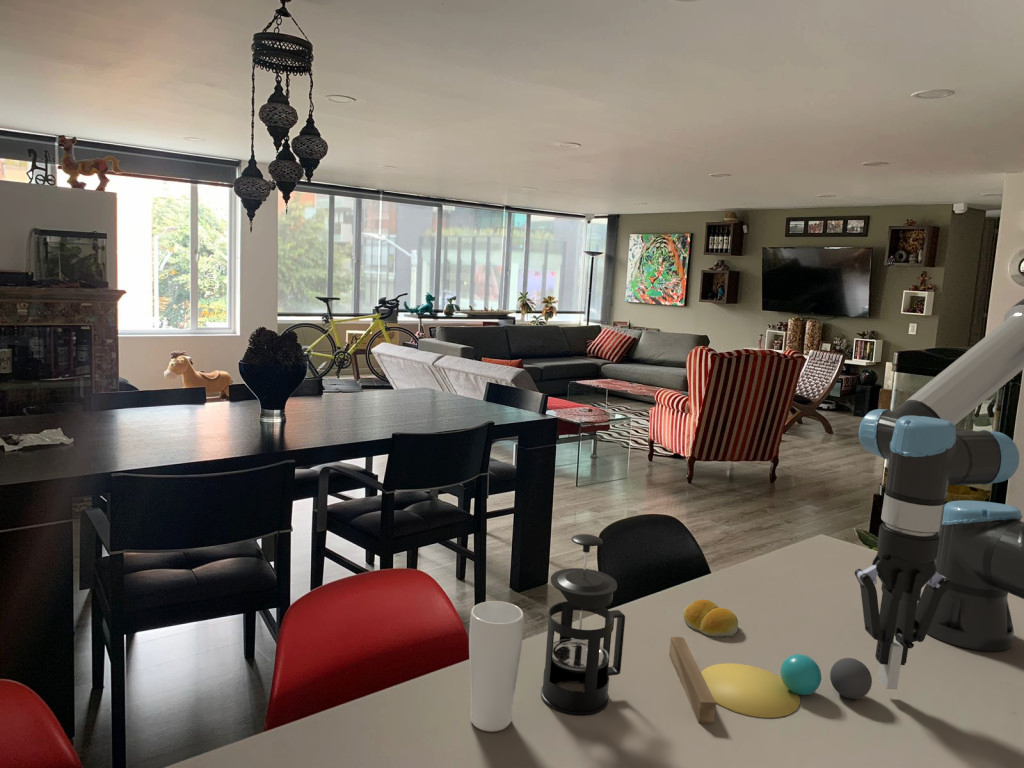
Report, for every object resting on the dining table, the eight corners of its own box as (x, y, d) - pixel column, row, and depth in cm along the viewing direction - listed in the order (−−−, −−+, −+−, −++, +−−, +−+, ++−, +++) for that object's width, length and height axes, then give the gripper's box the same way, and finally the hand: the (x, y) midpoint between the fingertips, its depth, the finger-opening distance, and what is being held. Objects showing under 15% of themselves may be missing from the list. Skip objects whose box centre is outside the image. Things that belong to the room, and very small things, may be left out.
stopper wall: (681, 655, 119) (683, 637, 119) (713, 723, 101) (715, 702, 101) (669, 654, 119) (670, 636, 118) (698, 722, 101) (700, 701, 101)
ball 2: (831, 646, 112) (817, 679, 113) (850, 667, 106) (835, 702, 107) (865, 655, 112) (851, 688, 113) (885, 676, 107) (870, 710, 108)
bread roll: (719, 644, 124) (722, 621, 124) (675, 623, 131) (677, 600, 130) (748, 630, 130) (750, 608, 129) (703, 611, 136) (706, 589, 136)
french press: (552, 721, 99) (564, 552, 96) (526, 683, 108) (537, 527, 105) (632, 709, 103) (646, 546, 100) (601, 673, 112) (613, 523, 109)
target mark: (778, 666, 117) (779, 665, 117) (815, 720, 103) (815, 718, 103) (688, 662, 117) (688, 661, 117) (713, 715, 103) (713, 713, 103)
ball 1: (818, 670, 113) (801, 640, 112) (834, 690, 107) (816, 659, 107) (785, 688, 113) (768, 658, 113) (799, 709, 108) (782, 678, 107)
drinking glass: (488, 700, 103) (494, 595, 101) (527, 721, 99) (535, 612, 97) (453, 721, 98) (459, 611, 96) (493, 744, 94) (500, 629, 92)
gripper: (940, 521, 111) (917, 672, 114) (851, 515, 110) (831, 668, 114) (972, 539, 103) (946, 700, 107) (876, 533, 103) (854, 696, 106)
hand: (887, 683), depth 110 cm, fingers closed
